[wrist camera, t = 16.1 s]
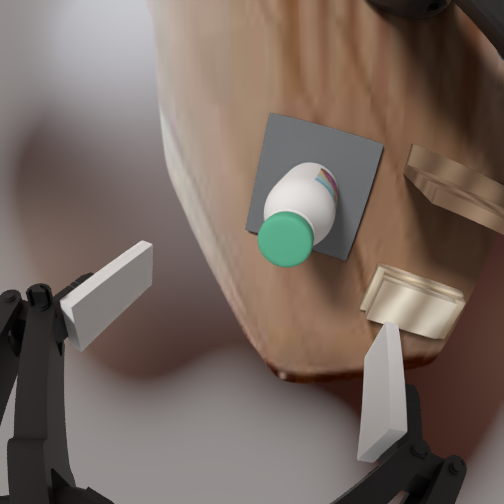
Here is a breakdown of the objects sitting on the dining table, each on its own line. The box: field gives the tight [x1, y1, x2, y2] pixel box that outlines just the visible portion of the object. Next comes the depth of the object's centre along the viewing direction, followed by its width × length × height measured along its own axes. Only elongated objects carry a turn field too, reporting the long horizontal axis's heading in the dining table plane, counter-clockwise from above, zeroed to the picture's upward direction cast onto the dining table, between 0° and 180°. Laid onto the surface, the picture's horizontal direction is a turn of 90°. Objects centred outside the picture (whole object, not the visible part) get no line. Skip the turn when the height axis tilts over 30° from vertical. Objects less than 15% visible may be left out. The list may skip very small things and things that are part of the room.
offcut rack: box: [360, 144, 504, 339], centre depth 34 cm, size 18×26×16 cm
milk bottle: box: [258, 162, 338, 267], centre depth 34 cm, size 8×8×20 cm
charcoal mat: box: [245, 113, 384, 261], centre depth 43 cm, size 16×18×1 cm
